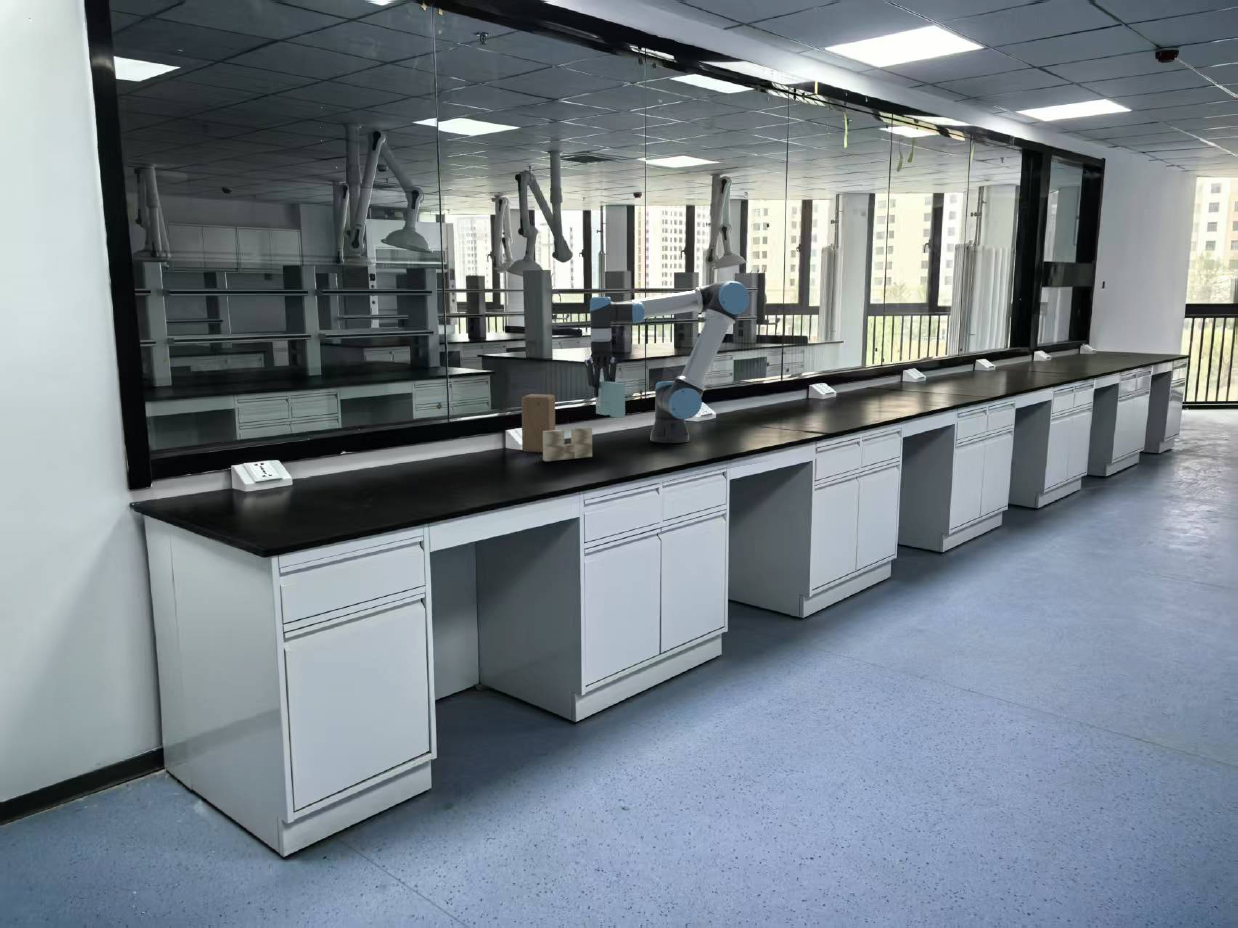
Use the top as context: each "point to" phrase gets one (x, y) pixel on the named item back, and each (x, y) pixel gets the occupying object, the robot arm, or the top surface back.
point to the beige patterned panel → (561, 451)
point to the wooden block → (536, 420)
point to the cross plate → (612, 399)
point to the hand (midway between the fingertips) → (602, 405)
